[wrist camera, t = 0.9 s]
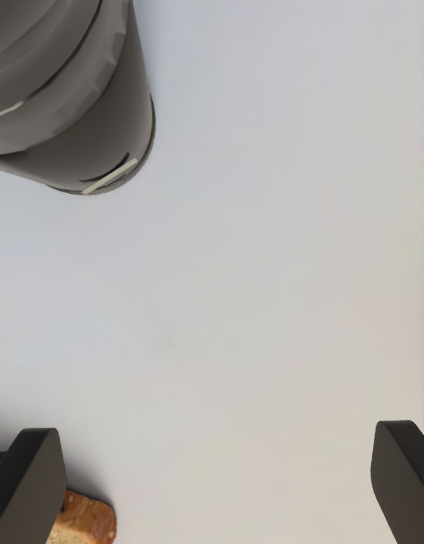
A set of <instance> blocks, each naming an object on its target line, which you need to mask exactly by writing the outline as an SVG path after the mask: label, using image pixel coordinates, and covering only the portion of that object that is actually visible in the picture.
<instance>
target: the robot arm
mask: <svg viewBox="0 0 424 544" xmlns="http://www.w3.org/2000/svg"><path fill="white" fill-rule="evenodd" d="M155 130H156V120H155V111H154V106H153V101H152V98H151V95H150V92H149V86H148V81H147V76H146V70H145V65H144V60H143V54H142V49H141V44H140V38H139V33H138V28H137V22H136V17H135V12H134V6H133V1H132V0H0V171H3V172H7V173H10V174H13V175H16V176H19V177H23V178H26V179H29V180H32V181H35V182H39V183H42V184H45V185H47V186H49V187H51V188H53V189H56V190H59V191H62V192H66V193H70V194H76V195H96V194H102V193H106V192H109V191H112V190H114V189H116V188H118V187H120V186H122V185H124V184H125V183H127V182H128V181H129V180H130V179H132V178H133V177H134V176H135V175H136V174H137V173H138V172H139V170H140V169H141V168H142V167H143V165H144V164H145V162H146V160H147V158H148V156H149V154H150V152H151V149H152V146H153V143H154V138H155ZM371 482H372V487H373V491H374V494H375V496H376V499H377V501H378V503H379V505H380V507H381V510H382V512H383V514H384V516H385V518H386V520H387V522H388V525H389V527H390V529H391V531H392V533H393V535H394V537H395V539H396V542H397V544H424V435H423V434H422V432H421V431H420V430H419V428H418V427H417V426H416V424H415V423H414V422H413V421H411V420H398V421H379V422H378V423H377V425H376V431H375V438H374V446H373V454H372V462H371ZM66 484H67V477H66V470H65V465H64V460H63V454H62V449H61V443H60V438H59V433H58V431H57V429H56V428H26V429H23V430H22V431H21V432H20V433H19V434H18V436H17V437H16V439H15V440H14V442H13V443H12V445H11V446H10V448H9V449H8V451H4V452H0V544H46V542H47V540H48V537H49V535H50V533H51V530H52V528H53V525H54V523H55V521H56V518H57V516H58V513H59V511H60V508H61V506H62V503H63V500H64V497H65V492H66Z"/></svg>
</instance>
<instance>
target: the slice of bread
mask: <svg viewBox="0 0 424 544" xmlns="http://www.w3.org/2000/svg"><path fill="white" fill-rule="evenodd" d="M116 530H117V523H116V519H115V514H114V511H113V509H112V508H111V507H109V506H108V505H107V504H105V503H103V502H102V501H100V500H91V499H89V498H87V497H86V496H84V495H82V494H79V493H75V492H72V491H69V490H68V489H66V492H65V497H64V500H63V503H62V506H61V508H60V511H59V513H58V516H57V518H56V521H55V523H54V525H53V528H52V530H51V533H50V535H49V537H48V540H47V542H46V544H112V543H113V541H114V539H115V538H116Z"/></svg>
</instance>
